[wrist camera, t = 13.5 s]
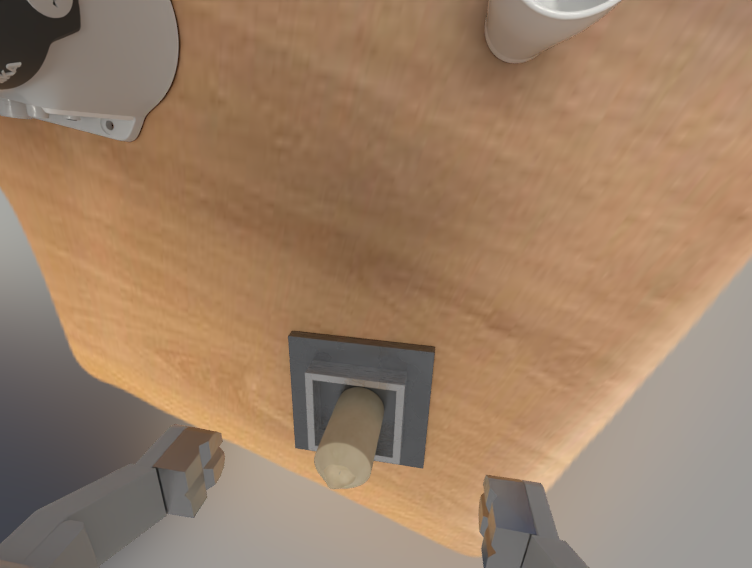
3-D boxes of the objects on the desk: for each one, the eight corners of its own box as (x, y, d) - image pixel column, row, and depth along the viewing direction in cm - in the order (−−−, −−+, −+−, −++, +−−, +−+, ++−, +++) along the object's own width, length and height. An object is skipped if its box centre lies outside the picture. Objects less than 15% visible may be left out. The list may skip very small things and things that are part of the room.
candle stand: (298, 440, 48) (287, 463, 45) (292, 330, 42) (278, 347, 39) (423, 460, 46) (421, 486, 42) (434, 346, 40) (433, 366, 37)
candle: (366, 433, 44) (346, 510, 35) (328, 407, 44) (298, 478, 35) (394, 405, 42) (380, 479, 33) (354, 377, 42) (329, 444, 33)
